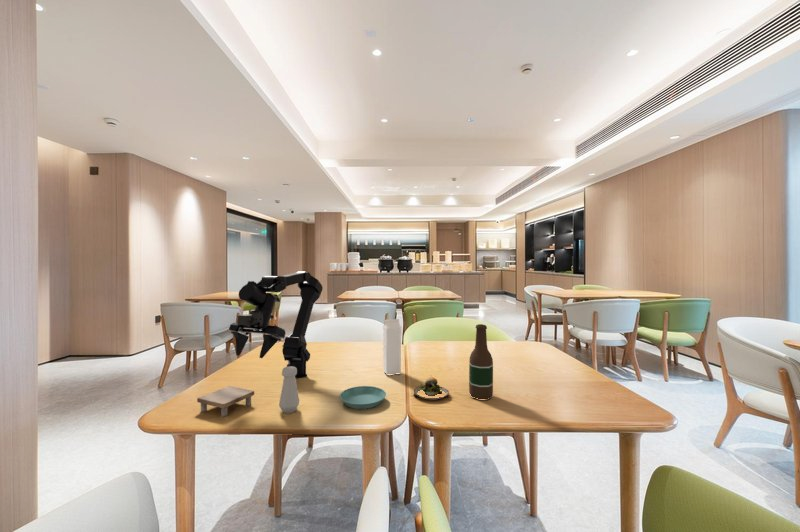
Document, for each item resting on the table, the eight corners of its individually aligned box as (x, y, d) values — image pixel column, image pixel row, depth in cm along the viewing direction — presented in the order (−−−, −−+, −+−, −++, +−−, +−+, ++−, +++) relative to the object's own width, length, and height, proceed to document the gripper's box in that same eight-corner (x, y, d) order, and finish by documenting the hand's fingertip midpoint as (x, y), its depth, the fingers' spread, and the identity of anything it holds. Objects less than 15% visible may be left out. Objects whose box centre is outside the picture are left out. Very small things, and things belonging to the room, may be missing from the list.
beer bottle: (493, 393, 115) (493, 323, 115) (492, 402, 107) (492, 327, 107) (470, 390, 117) (470, 322, 117) (467, 399, 110) (468, 326, 110)
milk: (400, 375, 134) (401, 320, 134) (386, 376, 132) (386, 320, 132) (396, 370, 140) (397, 317, 139) (382, 371, 138) (383, 318, 138)
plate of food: (408, 400, 109) (408, 377, 109) (419, 388, 120) (419, 367, 120) (444, 405, 105) (444, 382, 105) (452, 392, 116) (452, 371, 116)
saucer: (335, 397, 111) (335, 389, 111) (377, 391, 117) (377, 383, 117) (346, 415, 98) (346, 406, 98) (392, 407, 103) (392, 399, 103)
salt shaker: (292, 415, 97) (293, 371, 97) (275, 414, 98) (275, 369, 98) (302, 407, 102) (303, 365, 102) (285, 405, 104) (286, 364, 104)
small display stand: (229, 398, 109) (229, 385, 109) (254, 403, 105) (254, 391, 105) (197, 411, 99) (197, 398, 99) (223, 418, 95) (223, 404, 95)
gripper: (224, 301, 110) (207, 349, 103) (271, 303, 104) (256, 354, 98) (247, 311, 119) (232, 355, 113) (291, 314, 114) (278, 361, 107)
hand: (249, 356), depth 108 cm, fingers open, 9 cm apart
